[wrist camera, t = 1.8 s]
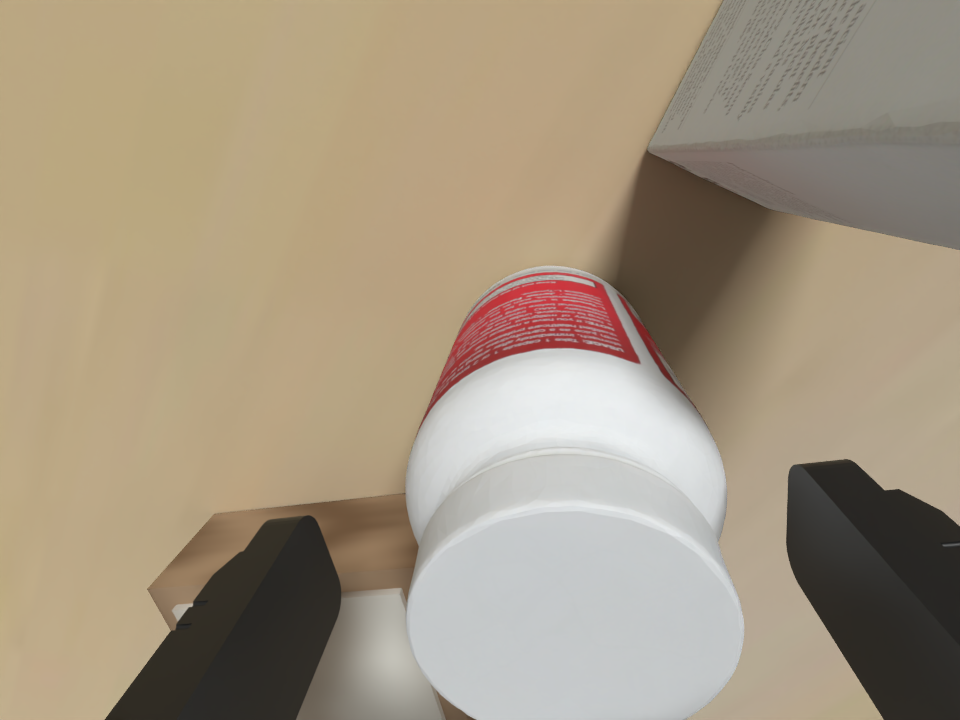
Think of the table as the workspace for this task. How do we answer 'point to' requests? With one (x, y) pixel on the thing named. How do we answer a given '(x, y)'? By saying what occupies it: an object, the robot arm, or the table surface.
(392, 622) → the base
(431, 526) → the pill bottle
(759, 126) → the skincare box
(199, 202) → the table surface
